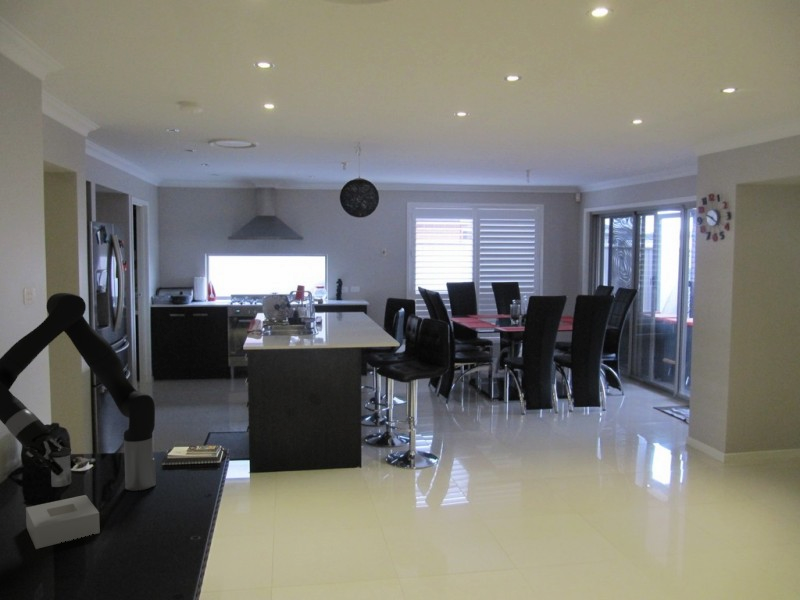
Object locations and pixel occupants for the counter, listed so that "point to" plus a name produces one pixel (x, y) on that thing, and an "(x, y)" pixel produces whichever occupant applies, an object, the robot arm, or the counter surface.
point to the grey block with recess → (62, 521)
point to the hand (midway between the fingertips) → (67, 469)
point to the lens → (62, 466)
